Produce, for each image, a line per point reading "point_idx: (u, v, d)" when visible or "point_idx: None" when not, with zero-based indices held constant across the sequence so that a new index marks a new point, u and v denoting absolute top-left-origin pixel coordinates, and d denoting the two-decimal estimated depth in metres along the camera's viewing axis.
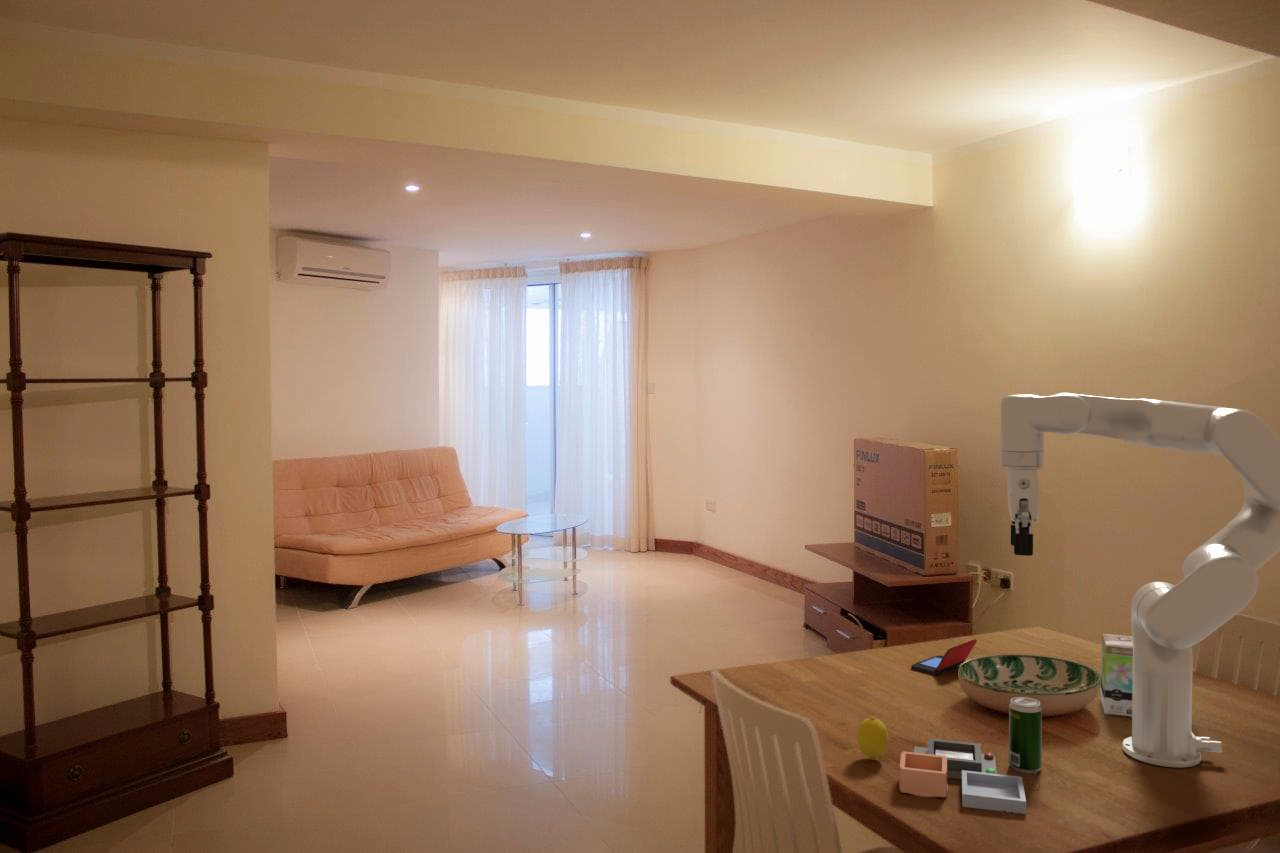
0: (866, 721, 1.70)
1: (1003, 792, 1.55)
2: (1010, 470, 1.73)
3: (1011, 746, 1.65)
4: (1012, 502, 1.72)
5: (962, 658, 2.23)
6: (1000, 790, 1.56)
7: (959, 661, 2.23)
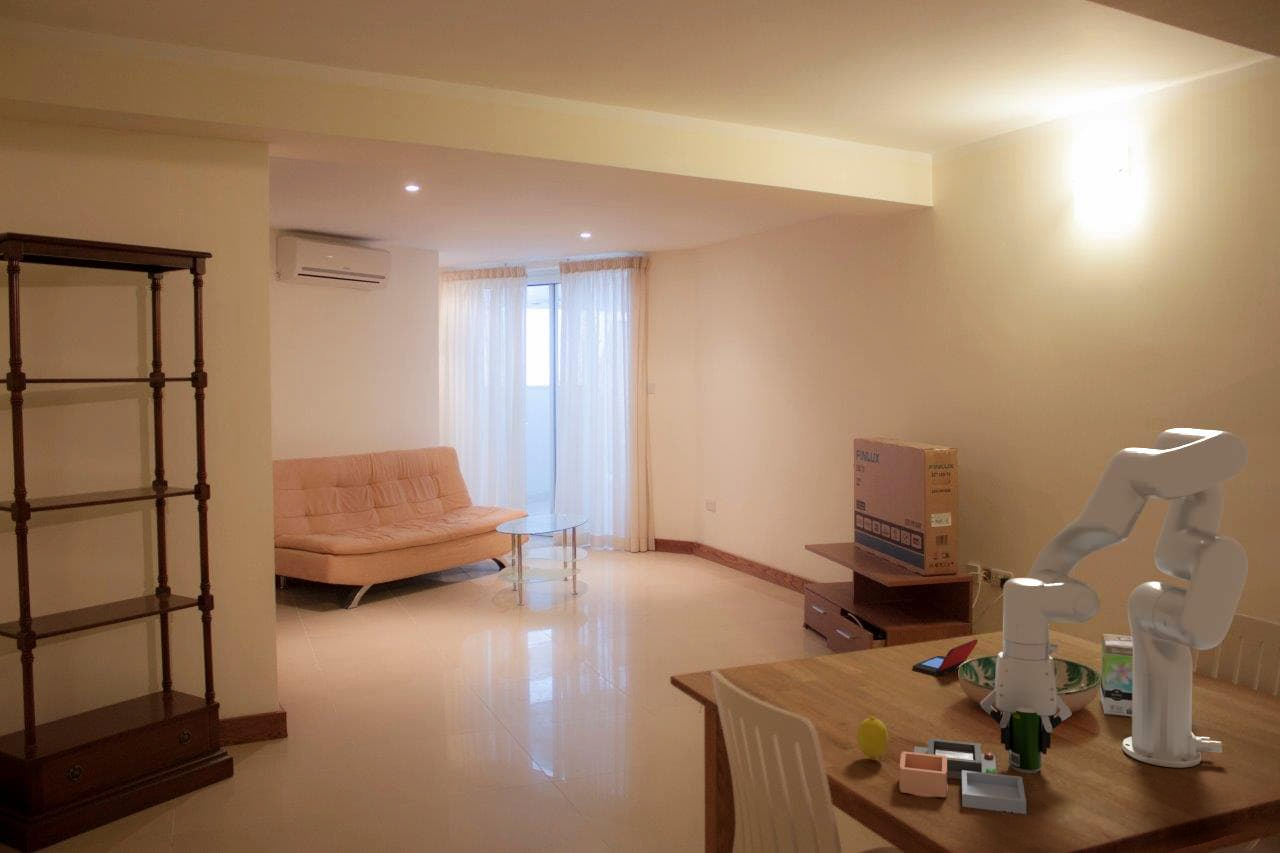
0: (866, 721, 1.70)
1: (1003, 792, 1.55)
2: (1045, 663, 1.62)
3: (1011, 746, 1.65)
4: (1055, 696, 1.62)
5: (963, 658, 2.23)
6: (1000, 790, 1.56)
7: (960, 661, 2.22)
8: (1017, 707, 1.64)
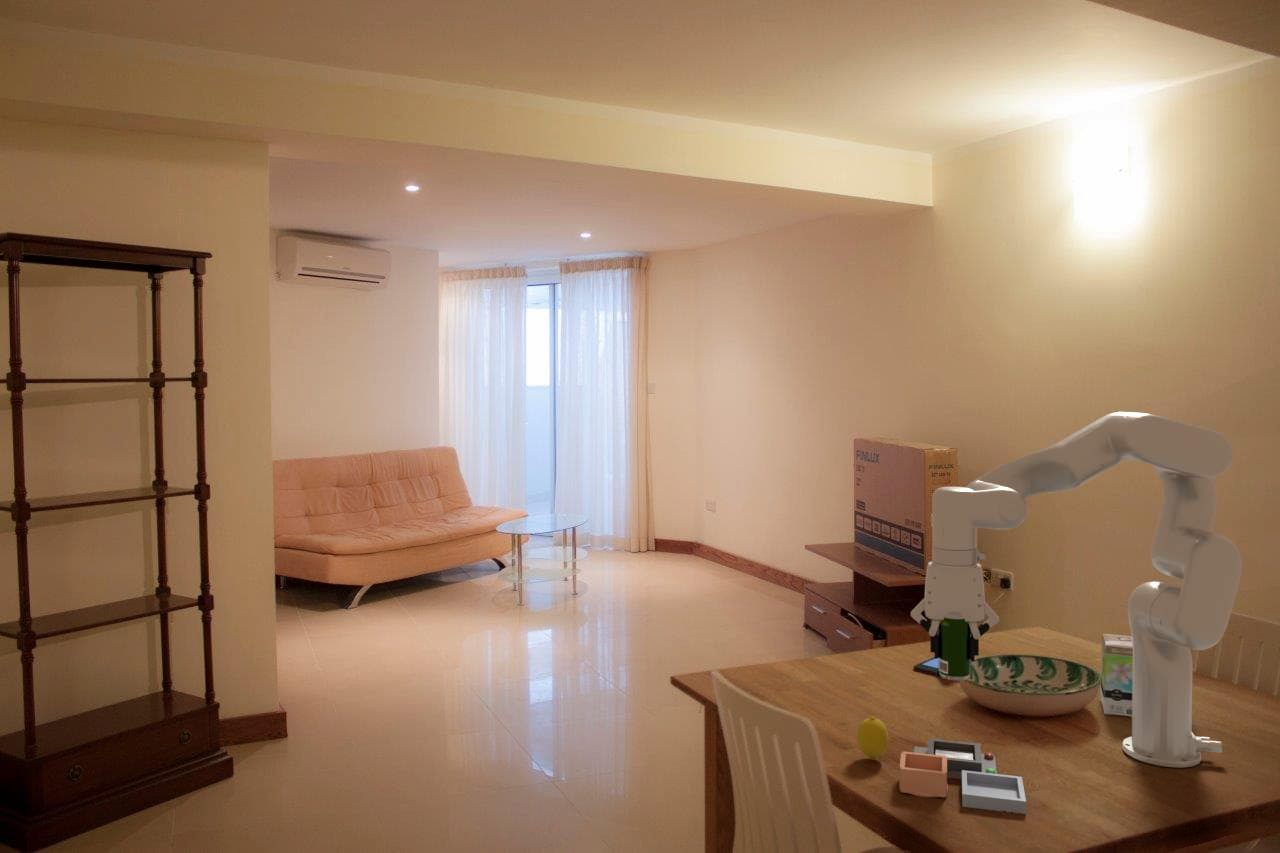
0: (866, 721, 1.70)
1: (1003, 792, 1.55)
2: (972, 569, 1.62)
3: (940, 654, 1.65)
4: (982, 602, 1.62)
5: None
6: (1000, 790, 1.56)
7: None
8: (945, 614, 1.64)
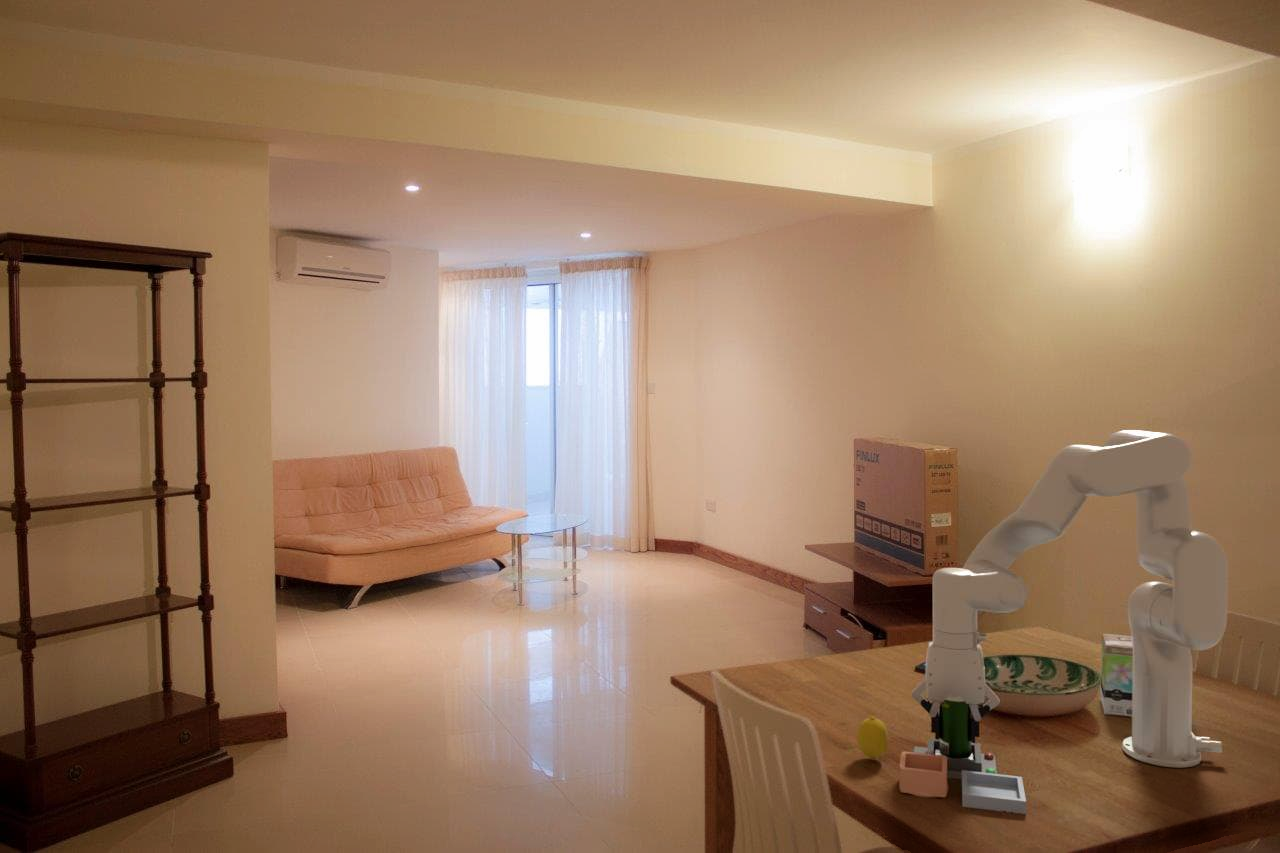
0: (866, 721, 1.70)
1: (1003, 792, 1.55)
2: (973, 652, 1.63)
3: (941, 735, 1.66)
4: (983, 685, 1.63)
5: None
6: (1000, 790, 1.56)
7: None
8: (946, 696, 1.65)
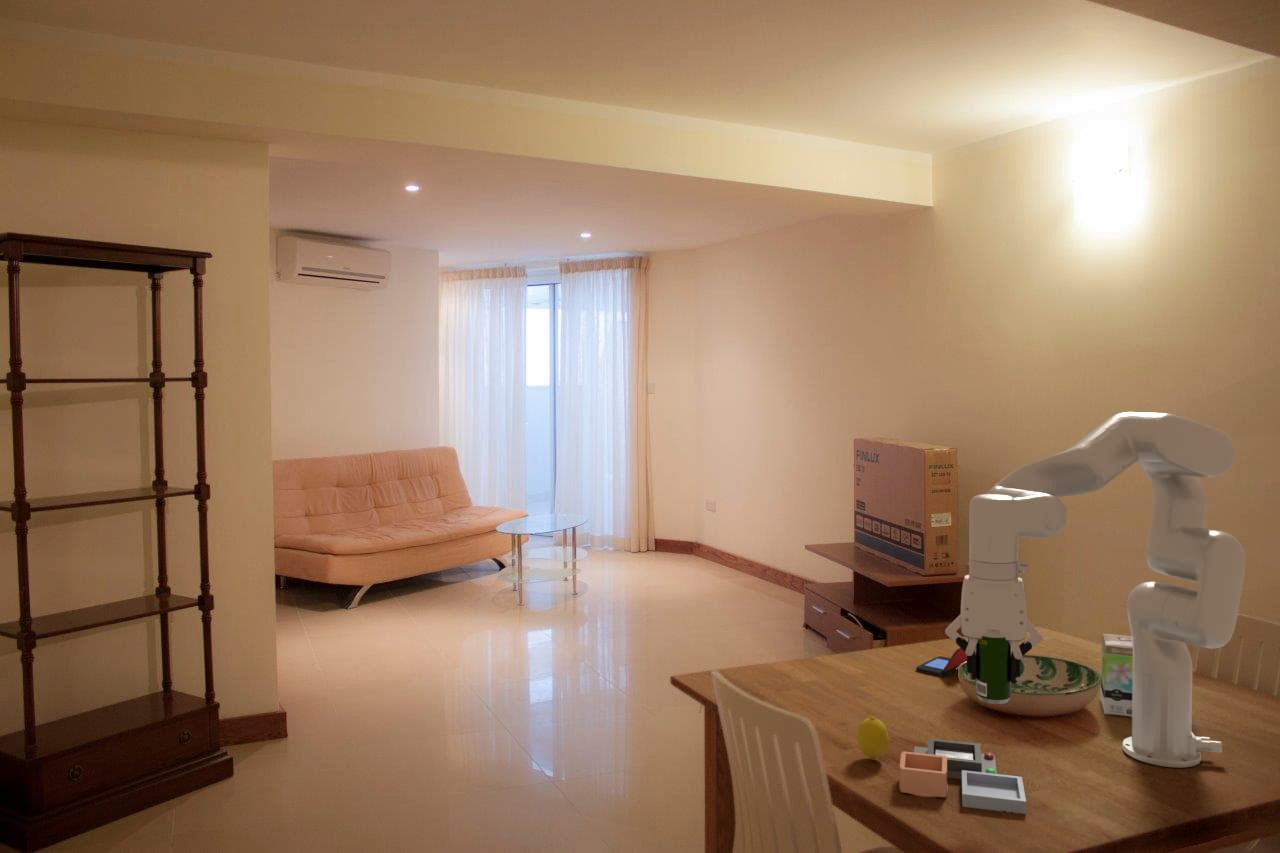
0: (866, 721, 1.70)
1: (1003, 792, 1.55)
2: (1014, 584, 1.50)
3: (978, 675, 1.53)
4: (1025, 619, 1.50)
5: (965, 658, 2.22)
6: (1000, 790, 1.56)
7: (963, 661, 2.22)
8: (984, 632, 1.52)
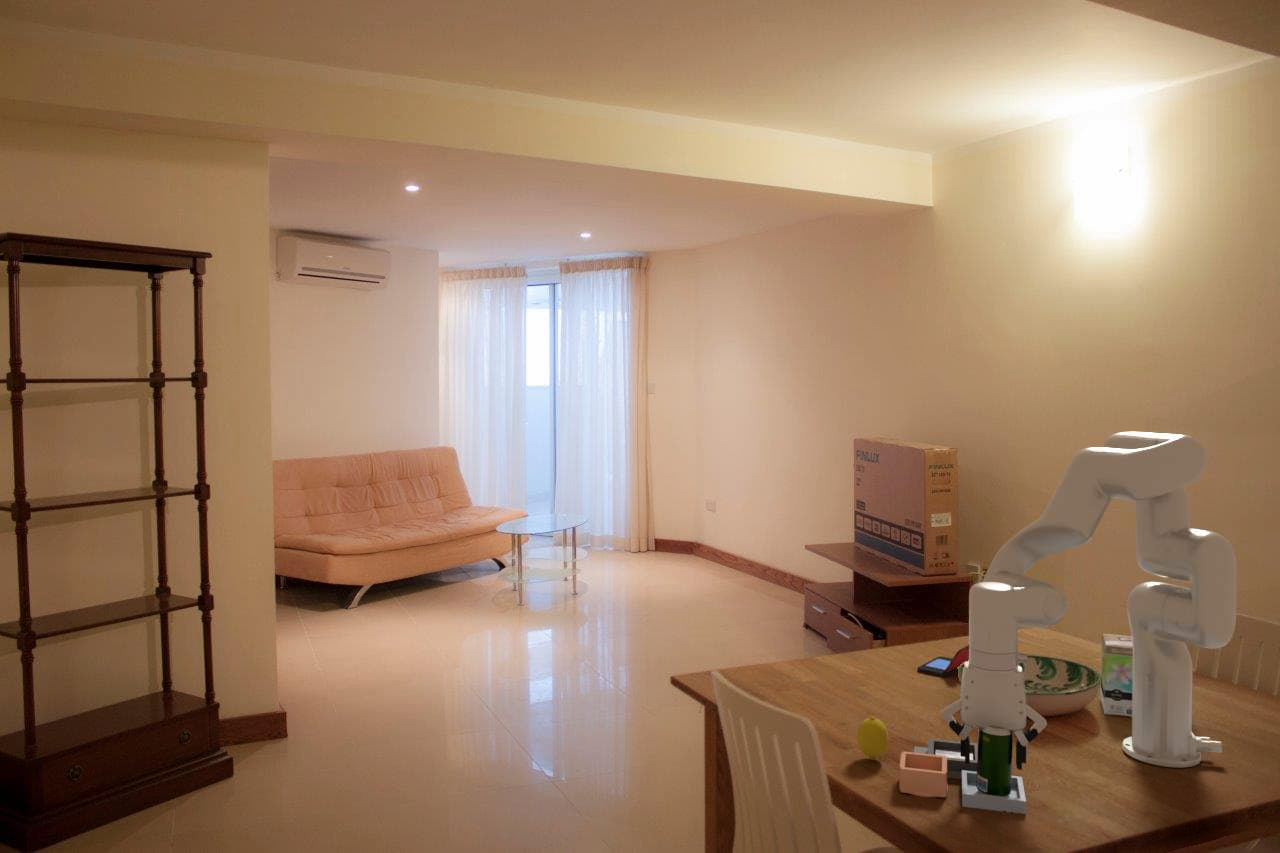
0: (866, 721, 1.70)
1: None
2: (1013, 674, 1.51)
3: (979, 770, 1.54)
4: (1024, 709, 1.51)
5: (966, 659, 2.22)
6: None
7: None
8: (984, 721, 1.52)
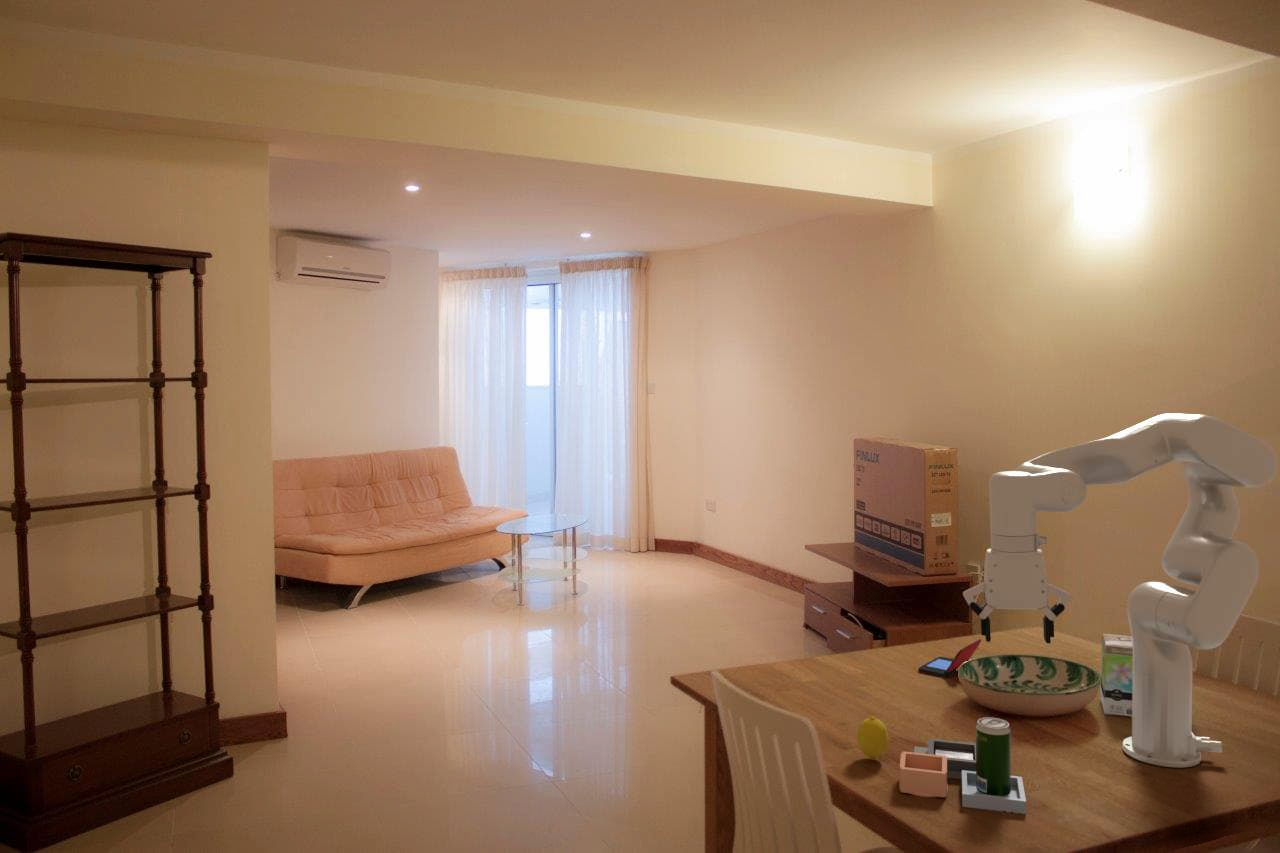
0: (866, 721, 1.70)
1: None
2: (1034, 555, 1.58)
3: (978, 770, 1.54)
4: (1046, 588, 1.58)
5: (967, 659, 2.22)
6: None
7: None
8: (1008, 602, 1.60)
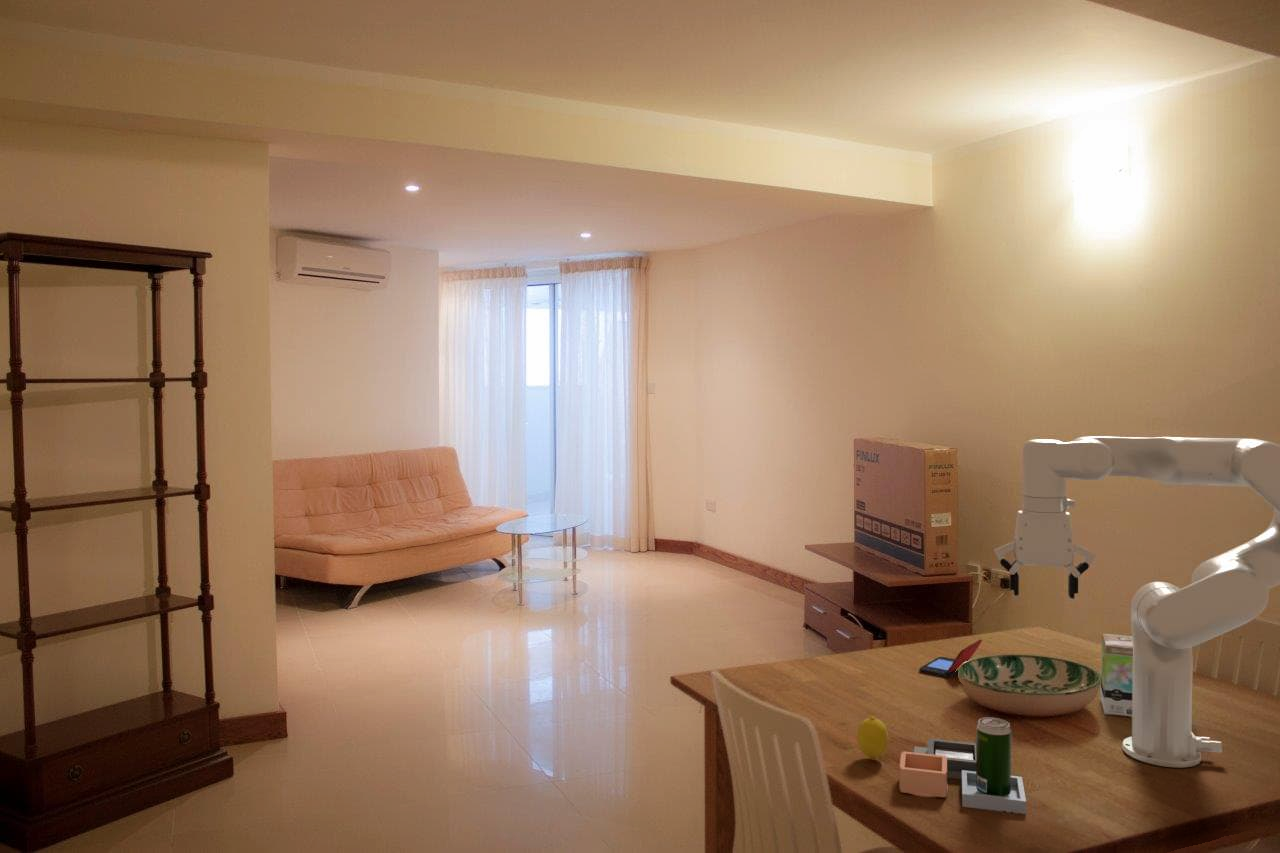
0: (866, 721, 1.70)
1: None
2: (1062, 516, 1.72)
3: (978, 770, 1.54)
4: (1072, 547, 1.72)
5: (967, 659, 2.22)
6: None
7: None
8: (1036, 559, 1.74)
